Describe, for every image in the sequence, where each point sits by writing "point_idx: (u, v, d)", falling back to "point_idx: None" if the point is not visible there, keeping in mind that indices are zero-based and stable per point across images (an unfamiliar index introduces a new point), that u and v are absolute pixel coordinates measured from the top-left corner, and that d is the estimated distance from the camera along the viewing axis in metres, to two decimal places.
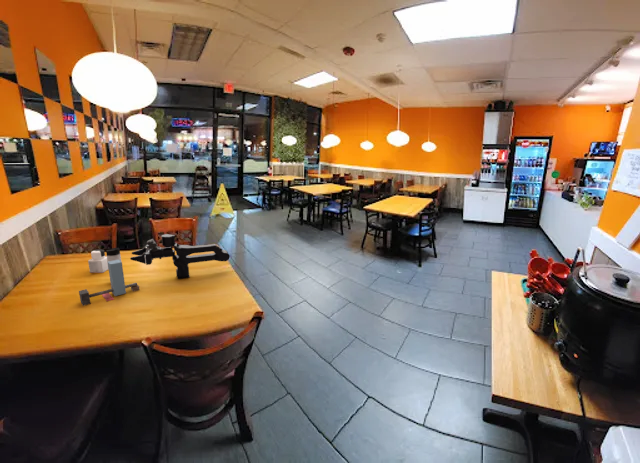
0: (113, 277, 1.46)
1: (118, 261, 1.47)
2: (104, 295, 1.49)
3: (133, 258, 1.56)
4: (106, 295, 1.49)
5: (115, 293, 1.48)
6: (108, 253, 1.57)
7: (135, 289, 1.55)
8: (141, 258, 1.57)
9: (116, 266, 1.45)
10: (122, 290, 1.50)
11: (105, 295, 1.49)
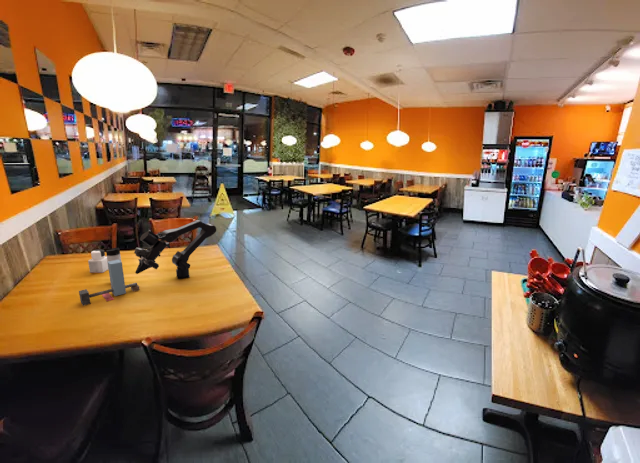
0: (113, 277, 1.46)
1: (118, 261, 1.47)
2: (104, 295, 1.49)
3: (138, 271, 1.55)
4: (106, 295, 1.49)
5: (115, 293, 1.48)
6: (108, 253, 1.57)
7: (135, 289, 1.55)
8: (144, 266, 1.56)
9: (116, 266, 1.45)
10: (122, 290, 1.50)
11: (105, 295, 1.49)
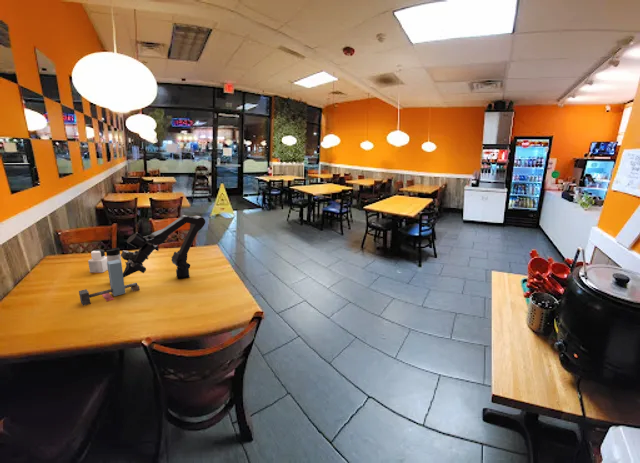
0: (112, 277, 1.45)
1: (117, 261, 1.47)
2: (104, 295, 1.49)
3: (124, 275, 1.51)
4: (106, 295, 1.49)
5: (114, 293, 1.48)
6: (108, 253, 1.57)
7: (135, 289, 1.55)
8: (131, 269, 1.52)
9: (115, 266, 1.45)
10: (121, 290, 1.50)
11: (105, 295, 1.49)
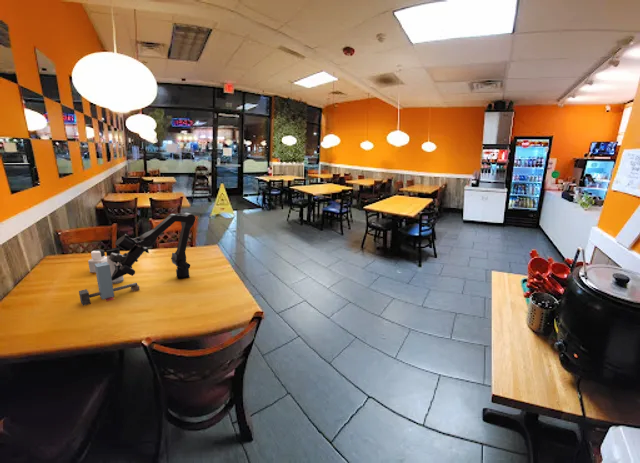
0: (100, 280, 1.42)
1: (106, 263, 1.44)
2: None
3: (113, 278, 1.47)
4: None
5: (103, 296, 1.44)
6: (108, 253, 1.57)
7: (135, 289, 1.55)
8: (119, 272, 1.48)
9: (103, 269, 1.42)
10: (110, 293, 1.46)
11: None
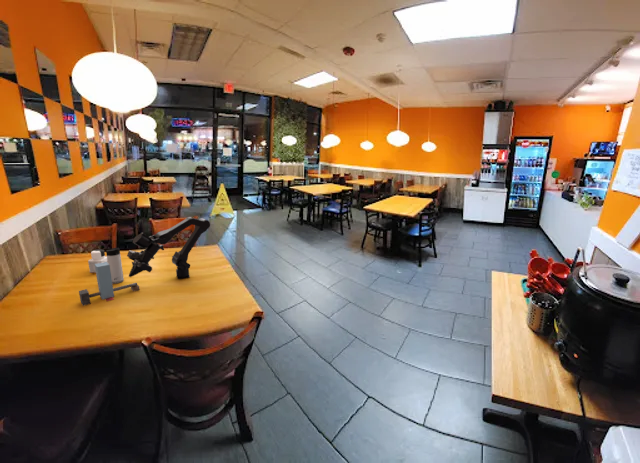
0: (100, 280, 1.42)
1: (106, 263, 1.44)
2: None
3: (131, 274, 1.53)
4: None
5: (103, 296, 1.44)
6: (108, 253, 1.57)
7: (135, 289, 1.55)
8: (137, 269, 1.54)
9: (103, 269, 1.42)
10: (110, 293, 1.46)
11: None
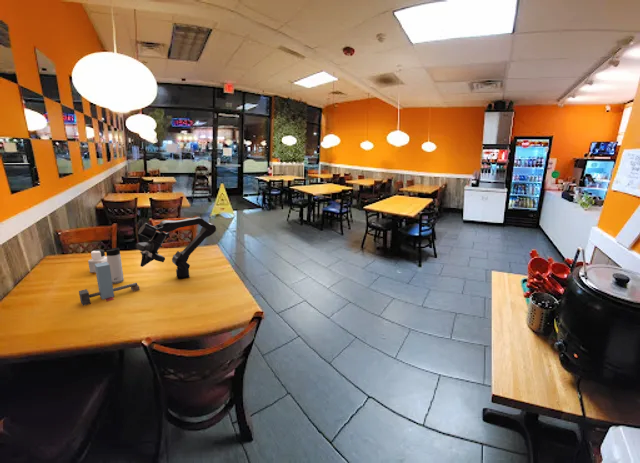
0: (100, 280, 1.42)
1: (106, 263, 1.44)
2: None
3: (143, 264, 1.58)
4: None
5: (103, 296, 1.44)
6: (108, 253, 1.57)
7: (135, 289, 1.55)
8: (148, 259, 1.59)
9: (103, 269, 1.42)
10: (110, 293, 1.46)
11: None
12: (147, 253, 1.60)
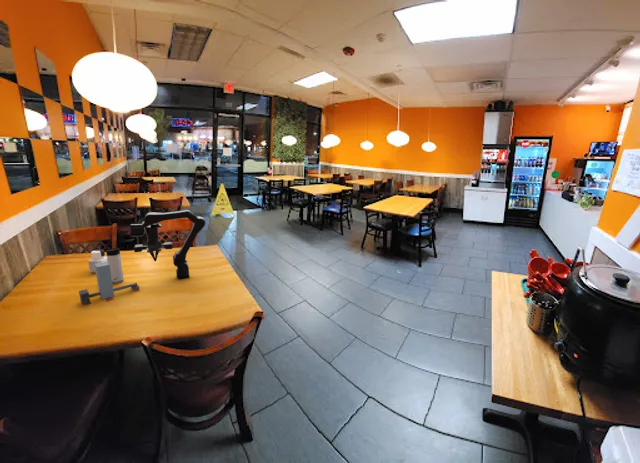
0: (100, 280, 1.42)
1: (106, 263, 1.44)
2: None
3: (156, 258, 1.66)
4: None
5: (103, 296, 1.44)
6: (108, 253, 1.57)
7: (135, 289, 1.55)
8: None
9: (103, 269, 1.42)
10: (110, 293, 1.46)
11: None
12: None
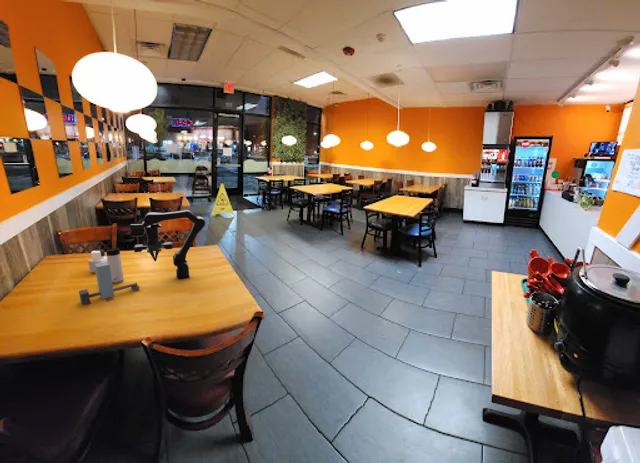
0: (100, 280, 1.42)
1: (106, 263, 1.44)
2: None
3: (156, 258, 1.66)
4: None
5: (103, 296, 1.44)
6: (108, 253, 1.57)
7: (135, 289, 1.55)
8: None
9: (103, 269, 1.42)
10: (110, 293, 1.46)
11: None
12: None
